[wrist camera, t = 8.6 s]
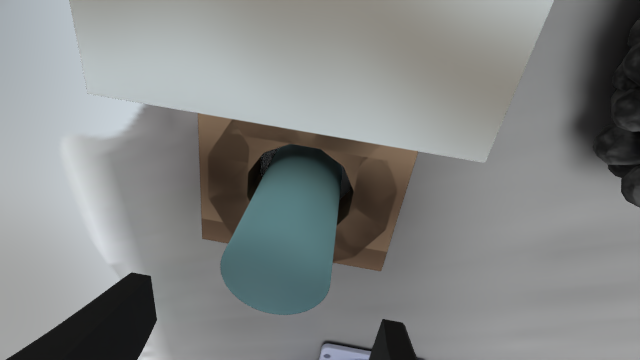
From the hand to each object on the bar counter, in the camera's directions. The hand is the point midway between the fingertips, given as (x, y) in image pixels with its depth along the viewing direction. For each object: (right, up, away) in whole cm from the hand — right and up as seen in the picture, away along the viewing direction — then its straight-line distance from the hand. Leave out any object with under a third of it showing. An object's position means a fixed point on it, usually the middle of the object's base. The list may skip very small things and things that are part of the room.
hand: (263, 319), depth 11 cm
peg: (+1, +5, +9) cm, 10 cm away
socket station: (+1, +7, +7) cm, 10 cm away
